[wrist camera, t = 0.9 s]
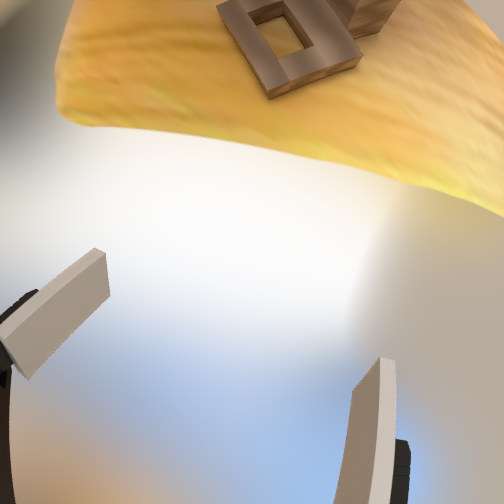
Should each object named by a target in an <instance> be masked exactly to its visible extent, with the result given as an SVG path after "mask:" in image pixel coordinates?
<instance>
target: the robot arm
mask: <svg viewBox="0 0 504 504" xmlns="http://www.w3.org/2000/svg"><path fill="white" fill-rule="evenodd" d="M109 296H110V290H109V282H108V273H107V264H106V253H104V252H102V251H100V250H98V249H96V248H94V249H92V250H91V251H90V252H88V253H87V254H86V255H84V256H83V257H82V258H80V259H79V260H78V261H76V262H75V263H74V264H72V265H71V266H70V267H68V268H67V269H66V270H65V271H63V272H62V273H61V274H59V275H58V276H57V277H56V278H54V279H53V280H52V281H51V282H49V283H48V284H47V285H46V286H44V287H43V288H42V289H41V290H40V291H39V290H37V289H35V290H32V291H30V292H28V293H26V294H25V295H24V296H23V297H21V298H20V299H19V301H17V302H15V303H14V304H13V306H11V307H9V308H8V309H7V310H6V311H5V312H4V313H3V314H1V315H0V504H16V503H15V497H14V490H13V482H12V474H11V461H10V446H9V445H10V444H9V406H10V387H11V374H12V369H11V365H12V364H14V365H15V367H16V368H17V370H18V371H19V372H20V373H21V374H22V375H23V376H24V377H25V378H26V379H27V380H29V379H30V377H31V376H32V375H33V374H34V373H35V372H36V371H37V370H38V369H39V368H40V366H41V365H42V364H43V363H44V362H45V361H46V360H47V359H48V358H49V357H50V356H51V355H52V354H53V353H54V352H55V351H56V349H58V347H59V346H60V345H61V344H62V343H63V342H64V341H65V340H66V339H67V338H68V337H69V336H70V335H71V334H72V333H73V332H74V331H75V330H76V329H77V328H78V327H79V326H80V325H81V324H82V323H83V322H84V321H85V320H86V319H87V318H88V317H89V316H90V315H91V314H92V313H93V312H94V311H95V310H96V309H97V308H98V307H99V306H100V305H101V304H102V303H103V302H104V301H105V300H106V299H107V298H108V297H109ZM395 432H396V368H395V361H394V360H390V359H387V358H384V357H379V358H378V360H377V361H376V362H375V364H374V365H373V366H372V368H371V369H370V370H369V371H368V373H367V374H366V375H365V376H364V378H363V379H362V380H361V381H360V382H359V384H358V385H357V386H356V387H355V388H354V390H353V391H352V399H351V407H350V415H349V422H348V429H347V436H346V443H345V448H344V454H343V460H342V465H341V470H340V476H339V481H338V486H337V490H336V494H335V499H334V503H333V504H407V502H408V492H409V480H410V477H409V475H410V464H411V451H410V449H409V445H408V442H407V441H405V440H399V439H395V434H396V433H395Z"/></svg>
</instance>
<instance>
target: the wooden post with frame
mask: <svg viewBox="0 0 504 504" xmlns="http://www.w3.org/2000/svg"><path fill="white" fill-rule="evenodd" d="M400 1H401V0H229V1H226V2H224V3H222V4H219V5H217V6H216V7H217V10H218V12H219V14H220V16H221V19H222V21H223V22H224V24H225V25H226V27H227V29H228V30H229V32H230V33H231V35H232V37H233V38H234V40H235V41H236V43H237V45H238V46H239V48H240V50H241V51H242V53H243V55H244V56H245V58H246V60H247V61H248V63H249V65H250V67H251V68H252V70H253V72H254V74H255V75H256V77H257V79H258V81H259V82H260V84H261V86H262V88H263V90H264V91H265V93H266V95H267V97H268V99H269V100H270V99H272V98H274V97H277V96H279V95H281V94H284V93H286V92H288V91H291V90H293V89H296V88H298V87H300V86H303V85H306V84H308V83H311V82H313V81H316V80H318V79H321V78H324V77H327V76H329V75H332V74H335V73H338V72H341V71H343V70H346V69H349V68H352V67H355V66H356V65H357V64H358V62H359V61H360V59H361V58H362V56H363V54H362V52H361V51H360V49H359V47H358V46H357V44H356V43H355V41H354V40H353V39H354V38H358V37H361V36H365V35H369V34H373V33H377V32H379V31H380V30H381V28H382V27H383V25H384V24H385V22H386V21H387V19H388V18H389V16H390V15H391V14H392V12H393V11H394V9H395V8H396V6H397V5H398V3H399V2H400ZM281 15H283V16H284V17H285V18H286V20H287V21H288V23H289V24H290V26H291V27H292V29H293V30H294V31H295V33H296V35H297V36H298V38H299V39H300V41H301V42H302V44H303V45H304V47H305V48H306V49H304V50H301V51H298V52H295V53H293V54H290V55H288V56H285V57H282V58H280V59H277V58H276V56H275V55H274V53H273V51H272V50H271V48H270V47H269V45H268V43H267V42H266V40H265V39H264V37H263V36H262V34H261V33H260V31H259V29H258V28H257V26H256V25H257V24H260V23H262V22H265V21H267V20H270V19H273V18H276V17H278V16H281Z"/></svg>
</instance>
